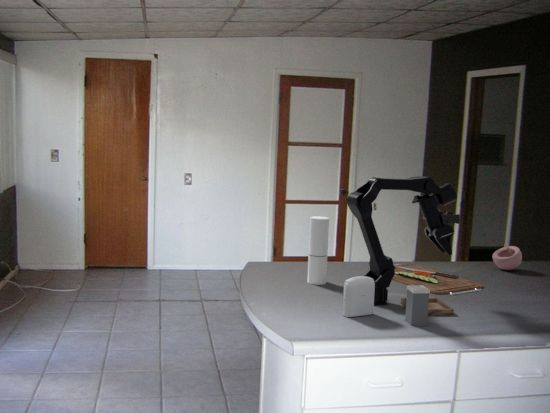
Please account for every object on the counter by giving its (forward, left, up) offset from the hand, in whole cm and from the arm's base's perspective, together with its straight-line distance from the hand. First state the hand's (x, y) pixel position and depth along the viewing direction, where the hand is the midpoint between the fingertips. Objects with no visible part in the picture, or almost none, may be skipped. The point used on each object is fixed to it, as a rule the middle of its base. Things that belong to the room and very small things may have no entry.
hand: (447, 253), depth 191 cm
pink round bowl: (+50, +46, -17) cm, 71 cm away
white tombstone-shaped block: (-35, -13, -17) cm, 41 cm away
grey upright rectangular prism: (-19, -22, -17) cm, 33 cm away
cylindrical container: (-40, +25, -17) cm, 50 cm away
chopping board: (+5, +31, -18) cm, 37 cm away
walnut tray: (-10, -8, -17) cm, 21 cm away
